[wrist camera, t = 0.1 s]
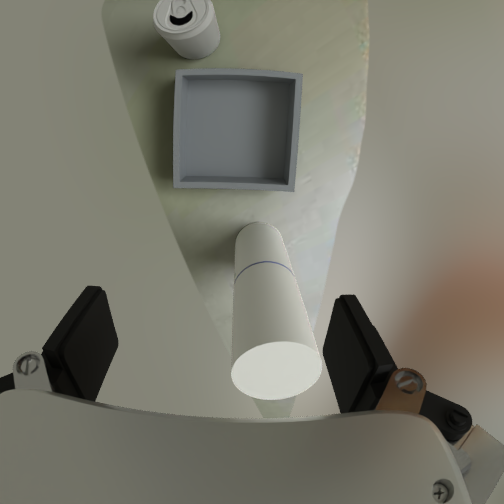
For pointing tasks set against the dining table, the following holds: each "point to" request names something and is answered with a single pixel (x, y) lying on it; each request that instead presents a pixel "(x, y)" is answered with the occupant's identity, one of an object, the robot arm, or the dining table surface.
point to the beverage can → (188, 26)
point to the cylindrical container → (269, 320)
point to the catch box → (236, 129)
